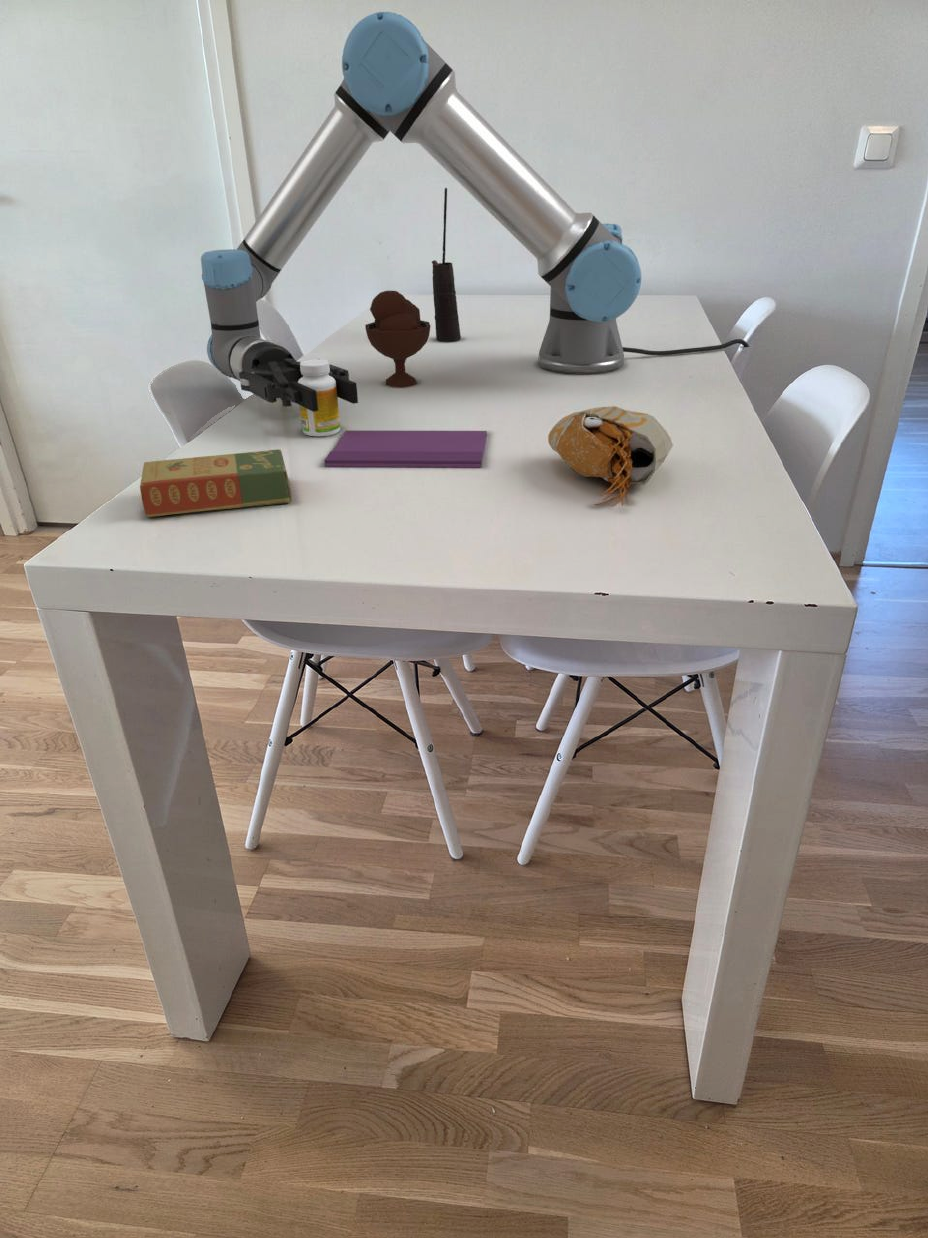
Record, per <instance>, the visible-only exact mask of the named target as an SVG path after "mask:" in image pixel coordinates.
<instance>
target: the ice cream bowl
mask: <svg viewBox="0 0 928 1238" xmlns="http://www.w3.org/2000/svg"><path fill="white" fill-rule="evenodd" d="M369 311H370V313H371V315H372V317H373V318H374V321H373V322H370V323H367V324H365V333H366V336H367V339H368V341H369V343H370V345H371V346H372V347H373V348H374V349H375V351H377V352H378V353H379V354H381V355H382V356H384V357H387V358H388V359H389V358H390V359H392V360H393V363H394V373H393V374H392V375H390V376H388V377H387V378H386V379H385V381H384V382H385V386H387V387H391V388H405V387H412V386H415V385H417V384H418V383H417V379H416V377H415V376H412V375H411V374H410V373H408V372H407V371H406V361H407V359H408V358H410V357H412V356H414V355H416V354H417V353H418V352H420V351H421V350H422V348H423V347H424V346H425V345H426V344H427V342H428V339H429V337H430V333H431V326H432V325H431V324H430V321H426V320H421V310H420V309H419V308H418V306H416V305H415V304H414V303H413V302H412V301H410V300H409V299H407V298H406V297H405V296H404V294H402V293H400V292H399V291H398V290H383V291H380V292H379V293H378V294H376V295H375V296H374V298H373V299H372V302H371V304H370V308H369Z"/></svg>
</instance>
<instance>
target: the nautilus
mask: <svg viewBox="0 0 928 1238" xmlns="http://www.w3.org/2000/svg"><path fill="white" fill-rule="evenodd" d="M547 439H548V445H549V446H550V448H551V449H552V450H553V451H554V452H556V453H557V454H558V455H559V457H561V459H562V460H563V461H564V462H565V463H566V464H567V465H568V466H569V467H570V468H571V469H573V471H574V473H577V474H580V475H582V476H583V477H584V478H586V477H587V478H589V477H595V478H602V479H603V480H604V481H606V482H610V483H611V486H610V487H609V488H607V489H606V490H605V491H604V492H603V493H601V494H600V495H599V496H600V497H601V496H603V495H605V494H606V493H607V494H608V495H607V496H606V497H605V498H603V499H602V501H603V502H600V503H594V506H600V505H605V504H607V503H609V502H612V501H613V500H616V499H618V498H619V499H618V500H617V501H615V503H614V504H613V505H611V507H615V506H616V505H617V504H619V503H621V506H622V507H623V506H624V501H623V497H624V496H625V499H626V501H627V502H626V503H627V504H628V503H629V499H628V497H627V492H628V491H629V488H630V486H631V485H646V484H647V483H648V482H649V480H650V479H651V478H652V476H653V475H654V474H655V473H656V472H657V471H658V470H659V468H660V467H661V466H662V464H664V462H665V460H666V458H667V457H668V455H669V453H670V452H671V450H672V448H673V447H674V444H673V441H672V438H671V436H670V435H669V433H668V431H667V430H666V429H665V427H663V425H662V424H661V423H660V422H659V421H658V419H657V418H656V417H654V415H651V414H650V413H649V414H648V413H645V412H641V411H640V412H638V411H632V410H628V409H624V408H621V407H619V406H615V405H614V406H612V405H611V406H600V407H593V408H589V409H585V410H584V409H583V410H580V411H576V412H572V413H571V414H568V415H566V416H564V417H562V418H561V419H560V420H559V421H558V422H556V423H555V424H554V426H552V428H551V430H550V431H549V433H548V435H547ZM612 488H613V489H612ZM617 489H618V491H619V494H618V495H615V496H614V497H612V498H610V499H609V497H611V496H612V495H613V494H614V492H615V491H616V490H617ZM607 499H608V500H607ZM605 500H606V501H605Z"/></svg>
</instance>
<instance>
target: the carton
mask: <svg viewBox="0 0 928 1238" xmlns="http://www.w3.org/2000/svg"><path fill="white" fill-rule="evenodd" d="M141 472H142V473H141V479H140V484H139V490H140V495H141V496H140V497H141V500H142V505H143V511H144V515H145V517H146V518H153V517H161V516H169V515H179V514H187V513H196V512H205V511H219V510H228V509H239V508H250V507H251V508H253V507H263V506H272V505H273V506H274V505H282V504H289V503H290V502H292V500H293V495H292V490H291V484H290V480H289V475H288V472H287V468H286V464H285V460H284V456H283V452H282V449H279V448H278V449H269V450H259V451H246V452H238V453H237V452H236V453H227V454H216V455H208V456H207V455H206V456H205V455H204V456H195V457H184V458H173V459H164V460H153V461H152V460H151V461H144V463H143V467H142V471H141Z"/></svg>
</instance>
